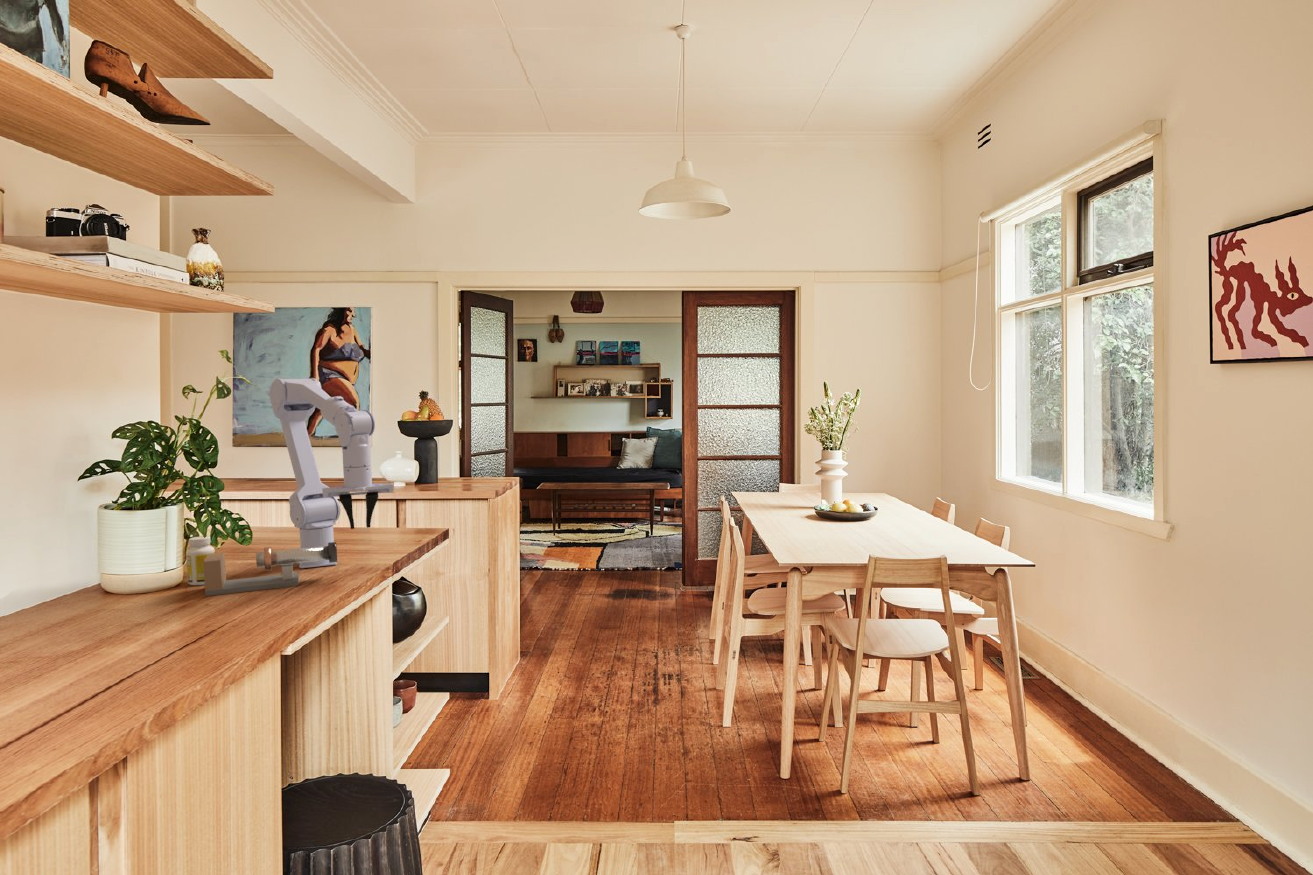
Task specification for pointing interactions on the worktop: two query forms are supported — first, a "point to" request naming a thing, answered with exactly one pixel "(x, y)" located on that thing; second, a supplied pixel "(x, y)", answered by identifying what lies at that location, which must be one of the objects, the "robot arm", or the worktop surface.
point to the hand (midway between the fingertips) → (360, 527)
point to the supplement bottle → (197, 559)
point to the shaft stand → (220, 585)
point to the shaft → (296, 556)
